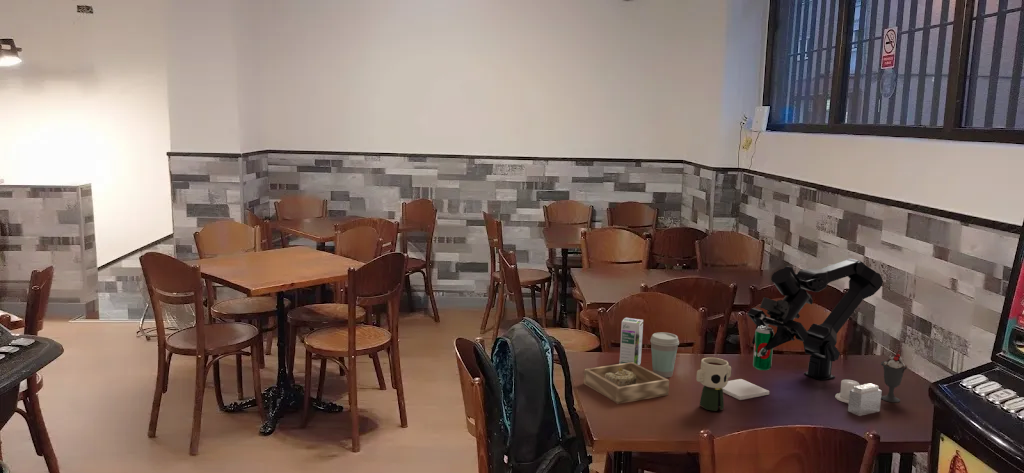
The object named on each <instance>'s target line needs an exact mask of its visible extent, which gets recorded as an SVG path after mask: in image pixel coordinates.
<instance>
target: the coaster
mask: <svg viewBox="0 0 1024 473" xmlns="http://www.w3.org/2000/svg"><path fill="white" fill-rule="evenodd" d="M722 389H723V394H726V395H729V396H730V397H732V398H735V399H736V400H739V401H743V400H748V399H753V398H758V397H763V396H768V395H770V390H768V389H766V388H763V387H761V386H759V385H756V384H754V383H751V382H749V381H747V380H745V379H742V378H738V379H732V380H728V383H727V385H726V386H725V387H724V388H722Z"/></svg>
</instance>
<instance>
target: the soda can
mask: <svg viewBox="0 0 1024 473" xmlns="http://www.w3.org/2000/svg"><path fill="white" fill-rule="evenodd" d="M755 330H756V331H755V332H754V334H755V344H754V345H753V358H752V366H753V368H754V369H756V370H758V371H764V372H765V371H769V370H771V368H772V364H773V363H772V361H773V353H774V352H773V350H774V348H773V349H770V350H767V349H766V347H767V345H768V343H769V342H770V341H771V339H772V338H773V336H774V335H775V332H774V328H773V327H771V326H768V327H767V326H758V327H757V329H756V328H755Z"/></svg>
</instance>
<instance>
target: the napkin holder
mask: <svg viewBox="0 0 1024 473" xmlns="http://www.w3.org/2000/svg"><path fill="white" fill-rule="evenodd" d="M879 387H880V386H879V385H877V384H874V383H871V382H870V383H864V384H859V386H854V389H853V390H850V394H849V403H847V404H848V406H847V412H849V413H852V414H853V415H856V416H859V417H862V416H865V415H870V414H875V413H879V412H880V411H881V402H882V399H881V396H882V392H883V391H882V390H881V389H879Z"/></svg>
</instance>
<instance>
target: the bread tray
mask: <svg viewBox="0 0 1024 473" xmlns="http://www.w3.org/2000/svg"><path fill="white" fill-rule="evenodd" d="M619 368H621V369H624V370H627V371H631V372H633V373H634V374H635V375H636V376H637V379H636V384H633V385H627V386H621V387H619V386H617V385H616V384H614V383H612V382H610V381H608V380H607V379H605V378H604V377H605V374H606V373H614V374H615V373H616V372H618V370H619ZM583 384H584V385H586V386H587V387H589V388H591V389H592V390H594V391H596V392H597V393H599V394H601V395H602V396H604V397H606V398H607V399H609V400H611V401H613V402H614V403H616V404H618V405H619V404H624V403H632V402H636V401H642V400H648V399H653V398H657V397H664V396H668V395H669V387H670V380H669V379H668V378H664V377H662V376H660V375H658V374H656V373H654V372H653V370H649V369H647V368H646V367H643V366H642V365H641V364H640V365H638V364H636V363H634V362H629V363H622V364H619V363H616V364H610V365H603V366H597V367H588V368H585V369H584V371H583Z"/></svg>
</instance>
